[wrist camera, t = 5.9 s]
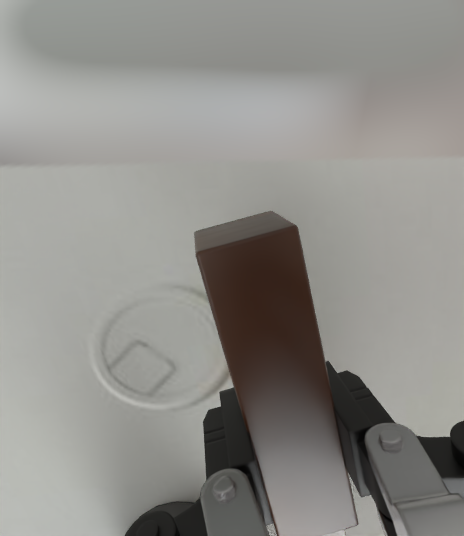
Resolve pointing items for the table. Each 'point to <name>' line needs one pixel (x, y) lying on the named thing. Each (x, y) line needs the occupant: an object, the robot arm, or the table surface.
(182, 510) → the candle holder
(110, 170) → the table surface
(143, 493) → the table surface
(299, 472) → the kitchen knife
